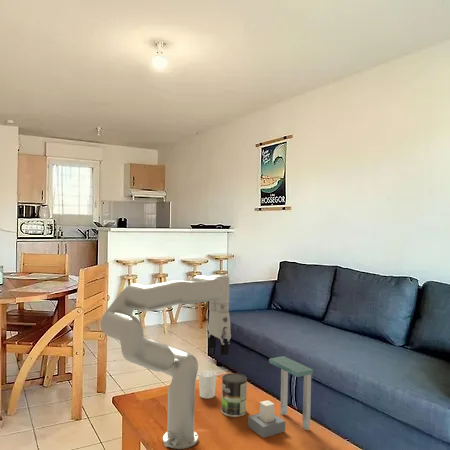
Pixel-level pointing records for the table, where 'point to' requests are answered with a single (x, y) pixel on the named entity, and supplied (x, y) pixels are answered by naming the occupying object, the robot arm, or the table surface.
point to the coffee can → (234, 394)
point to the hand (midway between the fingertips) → (218, 351)
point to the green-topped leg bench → (294, 369)
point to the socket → (266, 425)
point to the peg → (266, 411)
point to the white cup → (207, 383)
